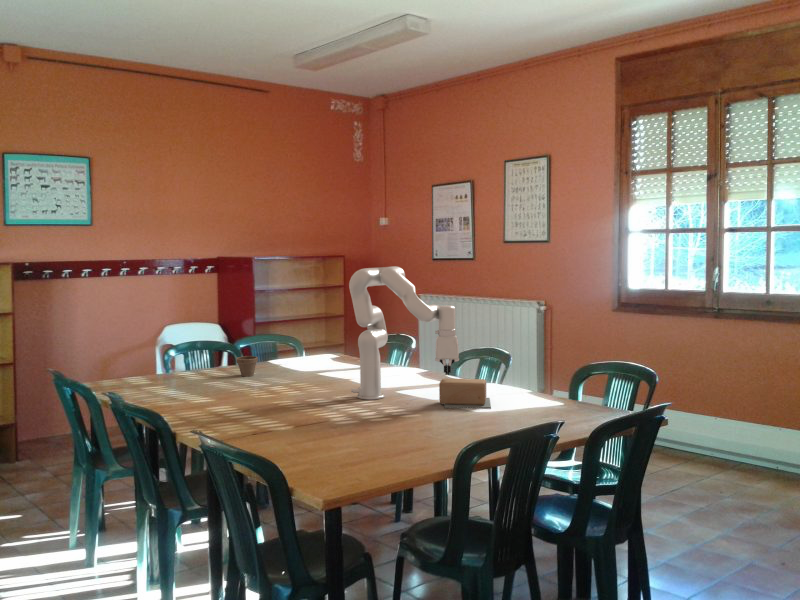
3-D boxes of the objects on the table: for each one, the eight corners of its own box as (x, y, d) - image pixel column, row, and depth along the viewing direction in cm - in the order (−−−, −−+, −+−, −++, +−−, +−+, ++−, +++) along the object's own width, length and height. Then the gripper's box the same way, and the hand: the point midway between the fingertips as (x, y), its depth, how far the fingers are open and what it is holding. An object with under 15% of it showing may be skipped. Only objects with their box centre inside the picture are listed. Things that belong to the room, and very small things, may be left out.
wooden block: (439, 404, 338) (484, 405, 334) (439, 382, 337) (484, 383, 334) (442, 399, 348) (486, 401, 344) (442, 378, 347) (486, 379, 343)
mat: (444, 408, 334) (444, 406, 334) (445, 398, 353) (445, 397, 353) (490, 408, 332) (490, 407, 332) (489, 399, 352) (489, 397, 352)
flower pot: (249, 378, 413) (249, 359, 412) (232, 376, 418) (232, 358, 417) (262, 374, 423) (261, 356, 423) (245, 373, 428) (245, 355, 428)
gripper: (429, 334, 338) (430, 375, 339) (463, 334, 337) (464, 375, 338) (430, 332, 345) (430, 372, 347) (464, 332, 344) (464, 372, 346)
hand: (447, 374), depth 342 cm, fingers closed
